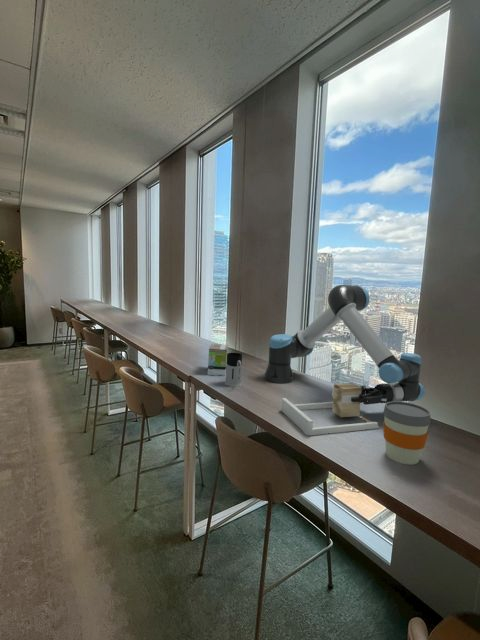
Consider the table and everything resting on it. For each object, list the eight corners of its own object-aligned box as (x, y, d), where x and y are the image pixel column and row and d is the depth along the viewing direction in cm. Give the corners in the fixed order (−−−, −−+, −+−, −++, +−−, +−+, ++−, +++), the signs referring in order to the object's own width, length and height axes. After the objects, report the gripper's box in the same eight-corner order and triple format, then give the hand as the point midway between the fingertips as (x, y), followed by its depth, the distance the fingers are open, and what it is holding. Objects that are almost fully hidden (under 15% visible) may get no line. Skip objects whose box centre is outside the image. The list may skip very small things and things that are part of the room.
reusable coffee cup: (373, 444, 104) (377, 399, 103) (412, 447, 104) (417, 402, 102) (389, 466, 92) (395, 416, 90) (434, 469, 92) (440, 418, 90)
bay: (281, 410, 130) (282, 398, 129) (344, 405, 138) (345, 394, 138) (307, 435, 109) (308, 421, 108) (379, 428, 117) (381, 414, 117)
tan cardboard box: (332, 411, 127) (334, 383, 126) (349, 409, 129) (352, 382, 128) (341, 417, 121) (343, 388, 120) (359, 415, 124) (361, 387, 123)
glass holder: (238, 380, 166) (240, 352, 165) (248, 389, 153) (249, 358, 151) (222, 381, 164) (223, 352, 162) (230, 391, 150) (231, 359, 148)
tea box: (225, 376, 174) (227, 349, 172) (207, 375, 174) (208, 348, 172) (227, 368, 189) (228, 343, 187) (210, 368, 189) (211, 343, 187)
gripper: (405, 411, 121) (352, 415, 115) (371, 394, 140) (323, 397, 133) (407, 391, 121) (353, 395, 114) (372, 377, 139) (324, 379, 132)
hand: (337, 396), depth 123 cm, fingers closed on tan cardboard box, 6 cm apart
